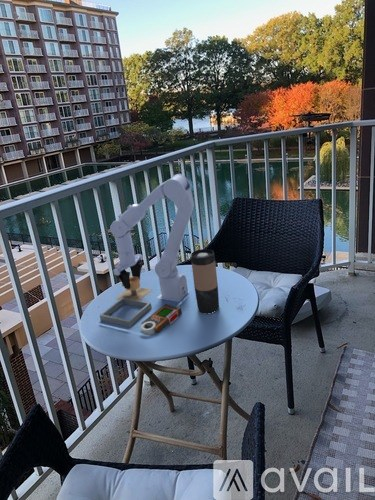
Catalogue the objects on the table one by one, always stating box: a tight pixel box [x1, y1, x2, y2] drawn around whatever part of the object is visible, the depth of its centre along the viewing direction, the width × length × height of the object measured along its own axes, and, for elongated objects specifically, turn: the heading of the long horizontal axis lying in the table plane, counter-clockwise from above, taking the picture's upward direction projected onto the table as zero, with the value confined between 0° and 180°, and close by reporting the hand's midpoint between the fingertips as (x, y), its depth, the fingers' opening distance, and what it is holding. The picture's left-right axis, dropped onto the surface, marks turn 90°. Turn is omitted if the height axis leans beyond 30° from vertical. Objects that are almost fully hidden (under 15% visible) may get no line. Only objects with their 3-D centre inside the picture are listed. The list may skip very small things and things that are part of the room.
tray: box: [99, 298, 153, 328], centre depth 125 cm, size 12×12×2 cm
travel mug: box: [190, 248, 220, 315], centre depth 120 cm, size 8×8×20 cm
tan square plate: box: [115, 287, 153, 301], centre depth 137 cm, size 10×10×4 cm
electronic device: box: [140, 303, 183, 336], centre depth 118 cm, size 7×3×15 cm
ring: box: [121, 275, 141, 291], centre depth 137 cm, size 7×6×3 cm
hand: (132, 284), depth 136 cm, fingers closed on ring, 5 cm apart
